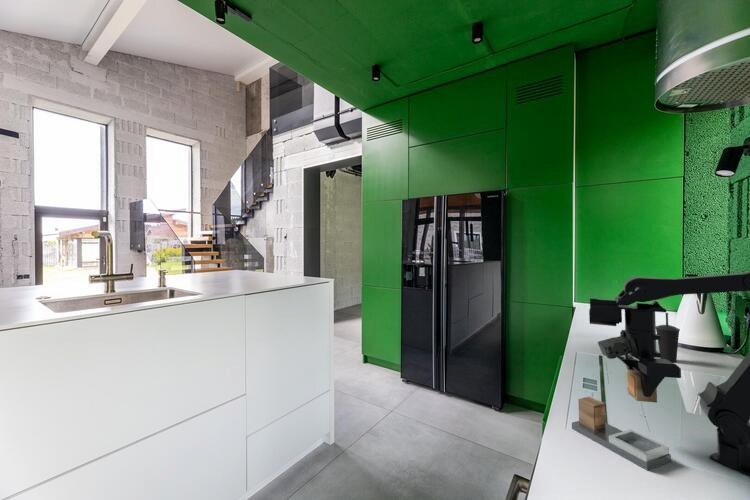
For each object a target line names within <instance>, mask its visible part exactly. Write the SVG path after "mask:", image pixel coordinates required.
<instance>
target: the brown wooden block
mask: <svg viewBox="0 0 750 500" xmlns="http://www.w3.org/2000/svg"><path fill="white" fill-rule="evenodd" d="M605 405H606V403H605V402H603V401H600V400H598V399H596V398H594V397H591V396H586V397H581V398H578V421H579V422H580V423H582V424H584V425H585V426H587V427H589V428H591V429H593V430H597V429H600V428H604V427H605V423H606V406H605Z"/></svg>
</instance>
